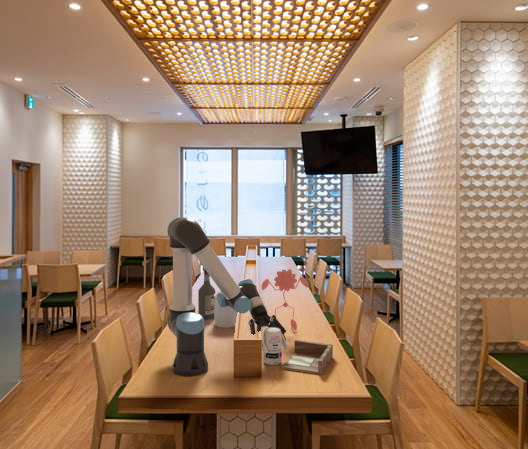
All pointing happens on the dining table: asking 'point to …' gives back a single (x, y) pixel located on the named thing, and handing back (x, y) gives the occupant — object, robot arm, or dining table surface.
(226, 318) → the utensil holder
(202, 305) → the liquor
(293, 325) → the pink flat figure
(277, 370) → the dining table surface
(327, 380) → the dining table surface
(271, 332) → the supplement can
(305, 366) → the corner tray
